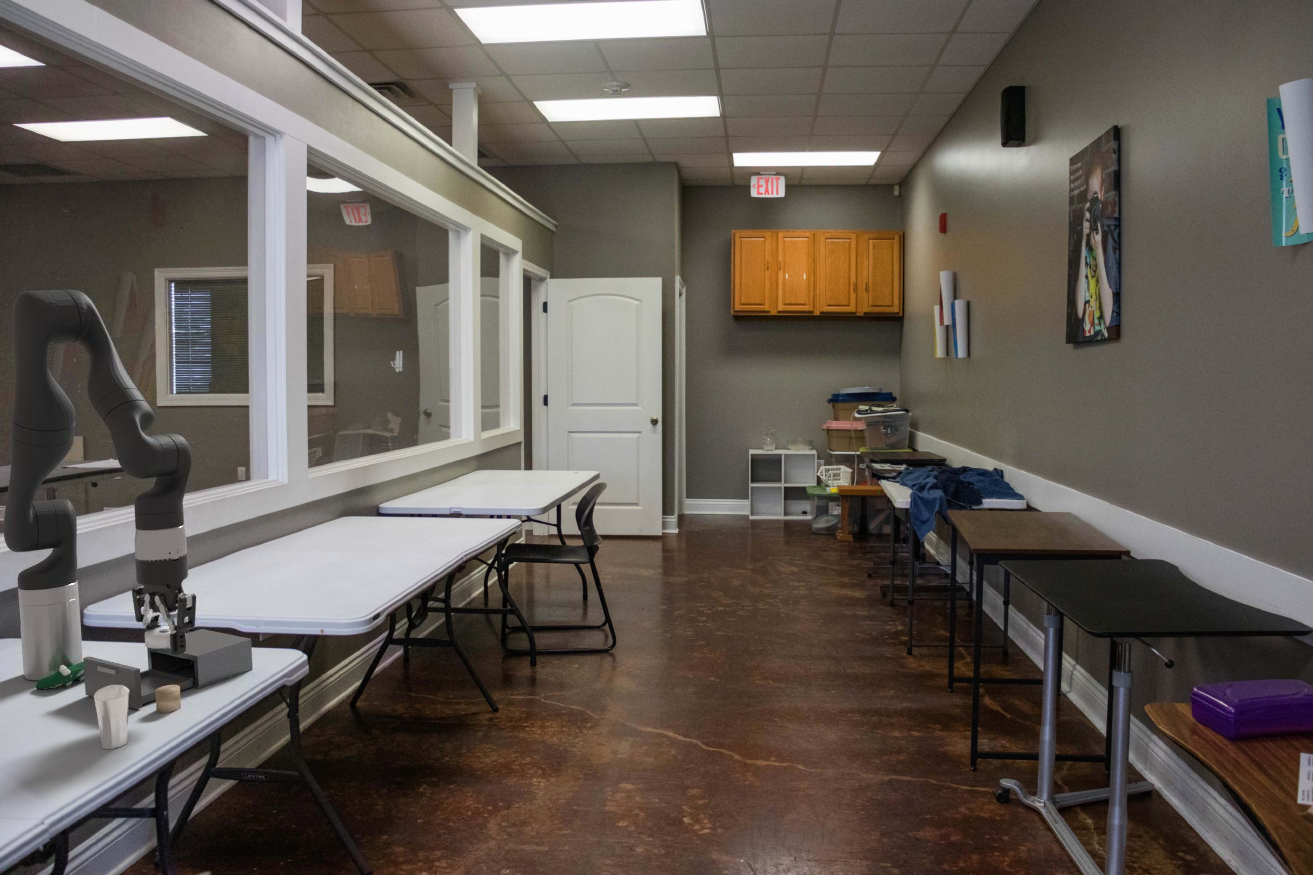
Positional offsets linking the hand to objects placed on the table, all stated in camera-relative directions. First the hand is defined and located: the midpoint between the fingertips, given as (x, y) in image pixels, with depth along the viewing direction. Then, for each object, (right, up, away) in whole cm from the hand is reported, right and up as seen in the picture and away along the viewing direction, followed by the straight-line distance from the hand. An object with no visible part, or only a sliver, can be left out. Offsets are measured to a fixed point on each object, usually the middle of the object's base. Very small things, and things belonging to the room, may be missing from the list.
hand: (166, 650), depth 143 cm
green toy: (-26, -10, +14) cm, 31 cm away
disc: (0, +1, 0) cm, 1 cm away
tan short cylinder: (0, -10, 0) cm, 10 cm away
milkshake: (0, -11, -14) cm, 18 cm away
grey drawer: (-9, -9, +8) cm, 15 cm away
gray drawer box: (-4, -9, +18) cm, 20 cm away
